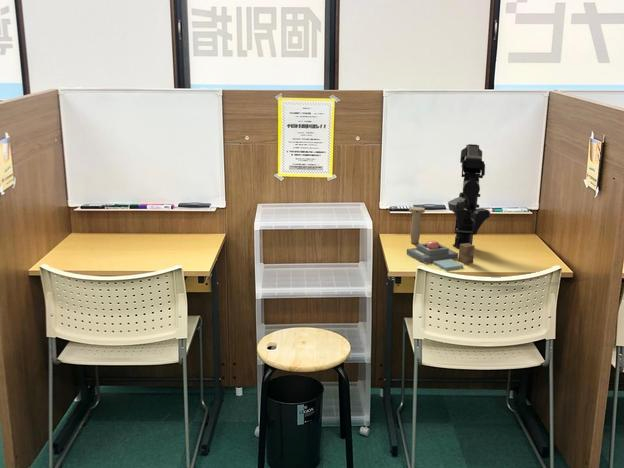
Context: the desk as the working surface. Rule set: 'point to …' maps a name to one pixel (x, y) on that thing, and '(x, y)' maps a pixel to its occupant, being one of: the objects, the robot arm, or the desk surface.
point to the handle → (416, 223)
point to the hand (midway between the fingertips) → (466, 230)
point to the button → (432, 245)
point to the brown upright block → (466, 253)
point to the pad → (448, 264)
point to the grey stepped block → (431, 253)
